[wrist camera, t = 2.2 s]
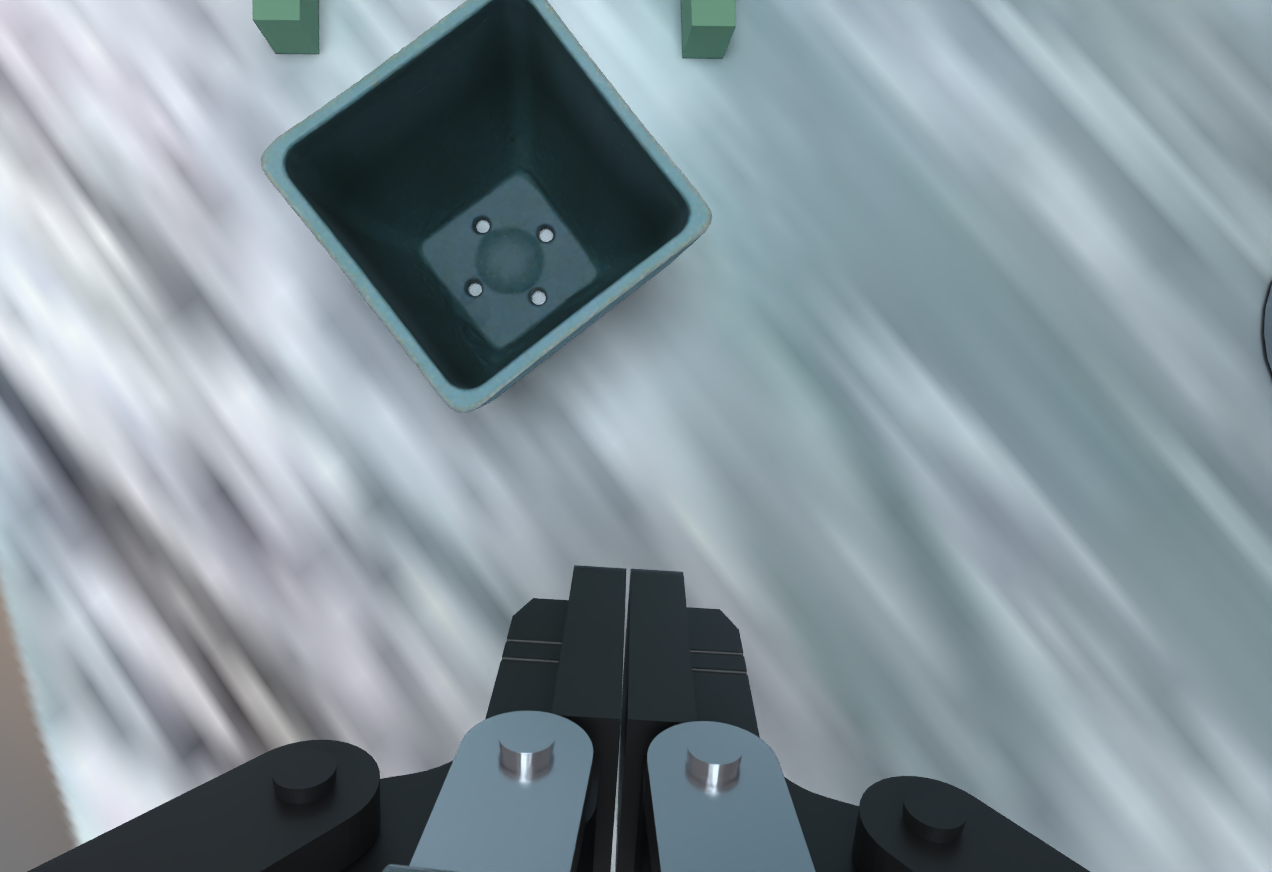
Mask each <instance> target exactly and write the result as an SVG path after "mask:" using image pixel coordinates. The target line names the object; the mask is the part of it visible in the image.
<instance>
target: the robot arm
mask: <svg viewBox="0 0 1272 872" xmlns="http://www.w3.org/2000/svg"><path fill="white" fill-rule="evenodd" d="M1264 338H1265V345H1266V351H1267V358H1268V362H1269V365H1270V367H1271V370H1272V285H1271V289H1270V293H1269V297H1268V301H1267V305H1266V308H1265V325H1264ZM625 593H626V569H624V568H608V567H592V566H574V571H573V577H572V584H571V590H570V597H569V600H554V599H537V598H533V599H532V600H531V601H530V602H528V603H527V604H526V605H525V606H524V607H523V608H522V609H520V610H519V611H518V612H517V613H516V614H515V615H514V616H513V617H512V621H511V625H510V629H509V633H508V636H507V642H506V644H505V648H504V651H503V655H502V661H501V663H500V666H499V670H498V674H497V678H496V681H495V685H494V689H493V693H492V696H491V700H490V704H489V708H488V711H487V715H486V719H485V720H484V721H482V722H480V723H479V724H477V725H476V726H475V727H473V728H472V729H471V730H470V731H469V732H468V733H467V734H466V735H465V736H464V738H463V740H462V742H461V744H460V746H459V748H458V751H457V753H456V756H455V758H454V760H453V761H451V762H449V763H447V764H445V765H442V766H440V767H437V768H434V769H431V770H428V771H423V772H419V773H414V774H408V775H402V776H396V777H390V778H383V779H380V771H379V768H378V765H377V763H376V762H375V760H374V759H373V757H372V756H370V755H369V754H368V753H367V752H366V751H364V750H362V749H361V748H359V747H357V746H354V745H351V744H349V743H345V742H340V741H333V740H310V741H301V742H297V743H292V744H288V745H285V746H282V747H278V748H276V749H273V750H271V751H269V752H267V753H264V754H262V755H260V756H258V757H256V758H254V759H252V760H250V761H248V762H246V763H244V764H242V765H240V766H238V767H236V768H234V769H232V770H230V771H228V772H226V773H224V774H222V775H220V776H218V777H216V778H214V779H212V780H210V781H208V782H206V783H204V784H202V785H200V786H198V787H196V788H194V789H192V790H190V791H188V792H186V793H184V794H182V795H180V796H178V797H176V798H174V799H172V800H170V801H168V802H166V803H164V804H162V805H160V806H158V807H156V808H154V809H152V810H150V811H148V812H146V813H144V814H142V815H140V816H138V817H136V818H134V819H132V820H130V821H128V822H126V823H124V824H122V825H120V826H118V827H116V828H114V829H112V830H110V831H108V832H106V833H104V834H102V835H100V836H98V837H96V838H94V839H92V840H90V841H88V842H86V843H84V844H82V845H80V846H78V847H76V848H74V849H72V850H70V851H68V852H66V853H64V854H62V855H60V856H58V857H56V858H54V859H52V860H50V861H48V862H46V863H44V864H42V865H40V866H38V867H36V868H34V869H32V870H30V871H28V872H610V869H611V854H612V840H613V826H614V811H615V797H616V783H617V768H618V754H619V740H620V758H619V786H618V814H617V842H616V870H615V872H1090V871H1088V870H1087V869H1085V868H1084V867H1082V866H1081V865H1079V864H1077V863H1076V862H1074V861H1073V860H1071V859H1070V858H1068V857H1067V856H1065V855H1063V854H1062V853H1060V852H1059V851H1057V850H1056V849H1054V848H1053V847H1051V846H1049V845H1048V844H1046V843H1045V842H1043V841H1042V840H1040V839H1039V838H1037V837H1036V836H1034V835H1032V834H1031V833H1029V832H1028V831H1026V830H1025V829H1023V828H1022V827H1020V826H1018V825H1017V824H1015V823H1014V822H1012V821H1011V820H1009V819H1008V818H1006V817H1005V816H1003V815H1001V814H1000V813H998V812H997V811H995V810H994V809H992V808H991V807H989V806H987V805H986V804H984V803H983V802H981V801H980V800H978V799H977V798H975V797H974V796H972V795H970V794H968V793H967V792H965V791H963V790H961V789H959V788H957V787H954V786H952V785H950V784H947V783H944V782H941V781H938V780H933V779H929V778H924V777H916V776H899V777H891V778H887V779H883V780H881V781H879V782H876V783H874V784H873V785H872V786H870V787H869V788H868V789H867V790H866V791H865V792H864V794H863V796H862V798H861V800H860V805H859V806H855V805H852V804H848V803H845V802H841V801H838V800H834V799H831V798H827V797H824V796H821V795H818V794H815V793H812V792H810V791H808V790H806V789H803V788H801V787H800V786H798V785H796V784H794V783H793V782H791V781H789V780H788V779H787V778H785V777H784V775H783V772H782V769H781V766H780V763H779V761H778V758H777V756H776V754H775V753H774V752H773V750H772V749H771V747H769V746H768V745H767V744H766V743H765V742H764V741H763V740H762V739H760V737H759V732H758V727H757V721H756V716H755V711H754V706H753V701H752V696H751V690H750V685H749V680H748V675H746V673H747V670H746V665H745V659H744V657H743V649H742V644H741V639H740V634H739V629H738V628H737V627H736V626H735V625H734V624H733V623H732V622H731V621H730V620H729V619H728V618H727V617H726V616H725V615H724V614H723V612H722V611H721V610H720V609H704V608H688V607H686V598H685V587H684V576H683V572H675V571H659V570H643V569H631V573H630V585H629V599H628V614H627V628H626V643H625V657H624V671H623V648H624V620H625ZM622 676H623V687H622ZM621 704H622V706H621ZM620 725H621V731H620Z"/></svg>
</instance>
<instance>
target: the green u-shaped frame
mask: <svg viewBox="0 0 1272 872" xmlns="http://www.w3.org/2000/svg"><path fill="white" fill-rule="evenodd" d="M253 21H254V22H255V24H256V25H257V27H258V28H259V30H260V31H261V33H262V34H263V36H264V37H265V38H266V40H267V41H268V43H269V44H270V46H271V47H272V49H273V50H274V52H275V53H287V54H319V14H318V0H253ZM681 23H682V58H723V57H724V54H725V52H726V49H727V47H728V44H729V42H730V39H731V37H732V34H733V32H734V29H735V26H736V24H735V0H681Z"/></svg>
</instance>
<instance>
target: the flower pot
mask: <svg viewBox="0 0 1272 872" xmlns="http://www.w3.org/2000/svg"><path fill="white" fill-rule="evenodd" d="M261 166H262V169H263V171H264V172H265V174H266V176H267V177H268V179H269V180H270V182H271V183H272V184H273V186H274V187H275V188H276V189H277V190H278V191H279V192H280V194H281V195H282V196H283V197H284V198H285V200H286V201H287V203H288V204H289V205H290V206H291V207H292V209H293V210H294V211H295V212H296V213H297V215H298V216H299V217H300V218H301V220H302V221H303V222H304V223H305V225H306V226H307V227H308V228H309V229H310V231H311V232H312V233H313V235H314V236H315V237H316V239H317V240H318V241H319V242H320V243H321V245H322V246H323V247H324V248H325V250H326V251H327V252H328V253H329V254H330V256H331V257H332V258H333V260H334V261H335V262H336V263H337V265H338V266H339V267H340V268H341V270H342V271H343V272H344V273H345V275H346V276H347V277H348V278H349V280H350V281H351V282H352V284H353V285H354V286H355V287H356V289H357V290H358V291H359V293H360V294H361V295H362V296H363V298H364V299H365V300H366V302H367V303H368V304H369V305H370V307H371V308H372V309H373V310H374V312H375V313H376V314H377V315H378V317H379V318H380V319H381V321H382V322H383V323H384V324H385V326H386V327H387V328H388V330H389V331H390V332H391V333H392V335H393V336H394V337H395V339H396V340H397V341H398V343H399V344H400V345H401V346H402V348H403V349H404V350H405V351H406V353H407V354H408V355H409V356H410V358H411V359H412V361H413V362H414V363H415V364H416V366H417V367H418V368H419V370H420V371H421V372H422V374H423V375H424V376H425V378H426V379H427V380H428V381H429V383H430V384H431V386H432V387H433V388H434V390H435V391H436V392H437V394H438V395H439V396H440V397H441V398H442V400H443V401H444V402H445V403H446V404H447V405H448V406H449V407H450V408H451V409H453V410H454V411H457V412H464V413H466V412H470V411H473V410H475V409H477V408H479V407H481V406H484V405H486V404H487V403H489V402H491V401H492V400H494V399H496V398H497V397H498V396H500V395H501V394H502V393H503V392H505V391H506V390H507V389H508V388H510V387H511V386H512V385H514V384H515V383H516V382H517V381H519V380H520V379H521V378H522V377H524V376H525V375H526V374H528V373H529V372H530V371H531V370H533V369H534V368H535V367H537V366H538V365H539V364H540V363H542V362H543V361H544V360H546V359H547V358H548V357H549V356H551V355H552V354H553V353H555V352H556V351H557V350H558V349H560V348H561V347H562V346H564V345H565V344H566V343H568V342H569V341H570V340H571V339H573V338H574V337H575V336H577V335H578V334H579V333H581V332H582V331H583V330H584V329H586V328H587V327H588V326H590V325H591V324H592V323H594V322H595V321H596V320H597V319H599V318H600V317H601V316H603V315H604V314H605V313H607V312H608V311H609V310H610V309H612V308H613V307H614V306H616V305H617V304H618V303H620V302H621V301H622V300H623V299H625V298H626V297H627V296H629V295H630V294H631V293H633V292H634V291H635V290H636V289H638V288H639V287H640V286H642V285H643V284H644V283H646V282H647V281H648V280H650V279H651V278H652V277H654V276H655V275H656V274H658V273H659V272H660V271H662V270H663V269H664V268H665V267H666V266H668V265H669V264H670V263H671V262H672V261H673V260H675V259H676V258H677V257H678V256H679V255H680V254H681V253H682V252H683V251H685V250H686V249H687V248H688V247H689V246H690V245H691V244H693V243H694V242H695V241H696V240H697V239H698V238H699V237H700V236H701V235H702V234H703V233H704V232H705V231H706V230H707V229H708V227H709V225H710V223H711V219H712V214H711V211H710V209H709V207H708V205H707V204H706V202H705V201H704V200H703V198H702V197H701V196H700V194H699V192H698V191H697V190H696V189H695V188H694V187H693V186H692V184H691V183H690V182H689V181H688V179H687V178H686V177H685V175H684V174H683V173H682V171H681V170H680V169H679V168H678V167H677V166H676V165H675V164H674V162H673V161H672V160H671V158H670V157H669V156H668V154H667V153H666V152H665V151H664V149H663V148H662V147H661V146H660V145H659V144H658V143H657V141H656V140H655V138H654V137H653V136H652V135H651V134H650V133H649V132H648V130H647V129H646V128H645V127H644V125H643V124H642V123H641V121H640V120H639V119H638V118H637V117H636V115H635V114H634V113H633V112H632V110H631V109H630V108H629V106H628V105H627V104H626V103H625V101H624V100H623V98H622V97H621V96H620V95H619V94H618V92H617V91H616V89H615V88H614V87H613V86H612V84H611V83H610V82H609V81H608V79H607V78H606V77H605V75H604V74H603V73H602V72H601V71H600V69H599V68H598V67H597V65H596V64H595V63H594V61H593V60H592V59H591V58H590V57H589V55H588V53H586V52H585V50H584V49H583V47H582V46H581V45H580V44H579V42H578V41H577V39H576V38H575V37H574V35H573V34H572V33H571V32H570V31H569V29H568V28H567V26H566V25H565V24H564V22H563V21H562V20H561V18H560V17H559V16H558V14H557V13H556V12H555V10H554V9H553V8H552V6H551V5H550V4H549V3H548V1H547V0H467V1H466V2H464V3H463V4H462V5H460V6H459V7H458V8H457V9H455V10H453V11H452V12H451V13H450V14H448V15H447V16H445V17H444V18H443V19H441V20H440V21H439V22H438V23H437V24H435V25H434V26H433V27H431V28H430V29H429V30H427V31H426V32H424V33H423V34H422V35H420V36H419V37H418V38H417V39H416V40H414V41H413V42H411V43H410V44H409V45H407V46H406V47H404V48H402V49H401V50H400V51H399V52H398V53H396V54H394V55H393V56H392V57H390V58H389V59H388V60H386V61H385V62H384V63H383V64H381V65H380V66H379V67H377V68H376V69H375V70H373V71H372V72H371V73H369V74H368V75H366V76H365V77H364V78H362V79H361V80H360V81H359V82H357V83H355V84H354V85H352V86H351V87H350V88H349V89H347V90H346V91H344V92H343V93H341V94H340V95H338V96H337V97H336V98H334V99H333V100H331V101H330V102H328V103H327V104H326V105H324V106H323V107H322V108H321V109H319V110H317V111H316V112H315V113H313V114H312V115H310V116H308V117H307V118H306V119H305V120H303V121H302V122H300V123H298V124H296V125H295V126H294V127H292V128H291V129H289V130H288V131H286V132H285V133H284V134H282V135H281V136H279V137H278V138H277V139H276V140H275V141H274V142H273V143H272V144H271V145H270V146H269V147H268V148H267V149H266V150H265V151H264V153H263V154H262V157H261ZM481 219H485V220H487V221H488V222H489V224H490V228H489V230H488V231H487V232H486V233H480V232H478V231H477V230H476V223H477V221H478V220H481ZM543 228H549V229H551V230H552V232H553V239H552V240H551V241H549V242H543V241H542V240H540V238H539V232H540V230H541V229H543ZM472 282H478V283H479V284H480V285H481V286H482V292H481V294H480V295H478V296H472V295H471V294H470V293H469V292H468V286H469V284H471V283H472ZM536 290H541V291H543V292H544V293H545V295H546V301H545V302H544V303H543V304H541V305H536V304H534V303H533V302H532V300H531V295H532V293H533V292H534V291H536Z"/></svg>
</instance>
